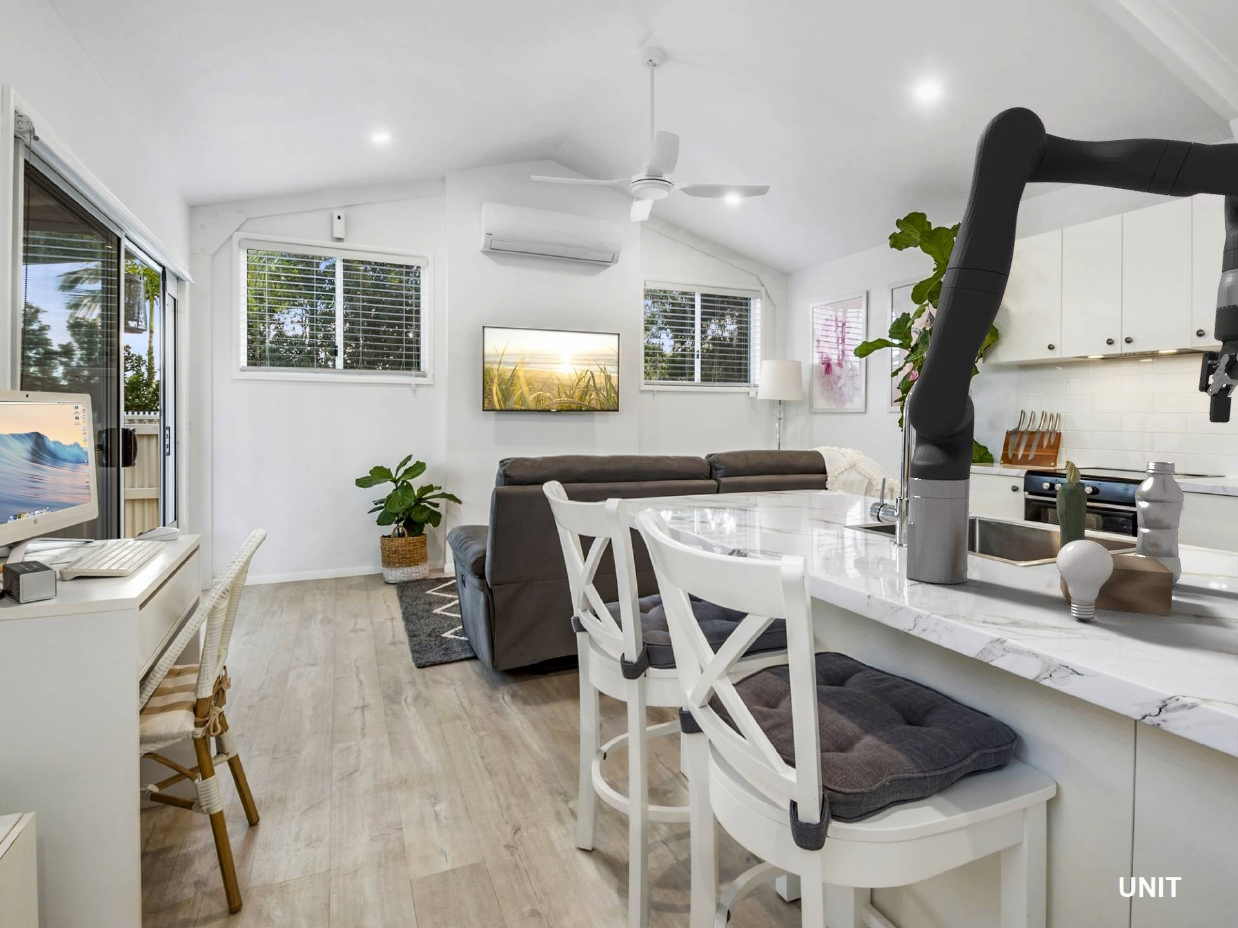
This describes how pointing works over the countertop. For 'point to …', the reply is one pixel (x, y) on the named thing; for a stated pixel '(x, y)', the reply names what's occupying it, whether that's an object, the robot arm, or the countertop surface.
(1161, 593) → the riser block
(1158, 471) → the plastic bottle
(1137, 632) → the countertop surface
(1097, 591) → the lightbulb
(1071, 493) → the vegetable
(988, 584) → the countertop surface
